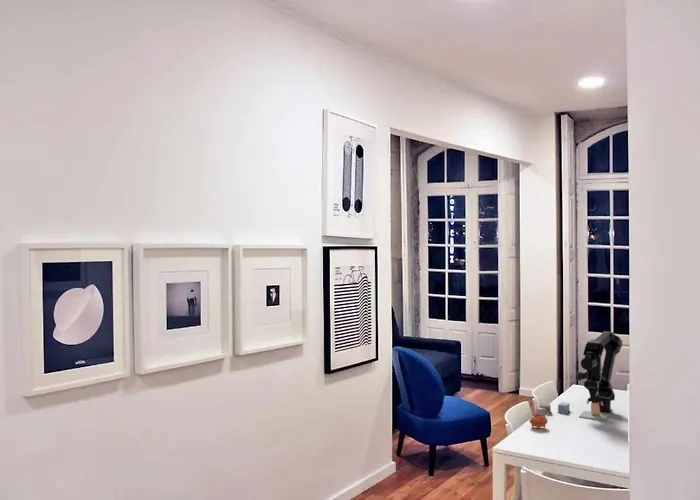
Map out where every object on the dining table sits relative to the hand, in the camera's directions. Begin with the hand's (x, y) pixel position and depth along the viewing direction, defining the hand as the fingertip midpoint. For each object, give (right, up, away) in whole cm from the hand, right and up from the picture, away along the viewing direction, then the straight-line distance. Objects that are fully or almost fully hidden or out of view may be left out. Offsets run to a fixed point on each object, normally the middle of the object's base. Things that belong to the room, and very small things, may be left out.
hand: (594, 398), depth 303 cm
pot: (-33, -9, -19) cm, 40 cm away
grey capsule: (-27, -9, 0) cm, 28 cm away
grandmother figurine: (0, -8, 0) cm, 8 cm away
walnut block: (-22, -9, +7) cm, 25 cm away
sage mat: (0, -9, 0) cm, 9 cm away
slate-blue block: (-12, -9, +9) cm, 17 cm away
